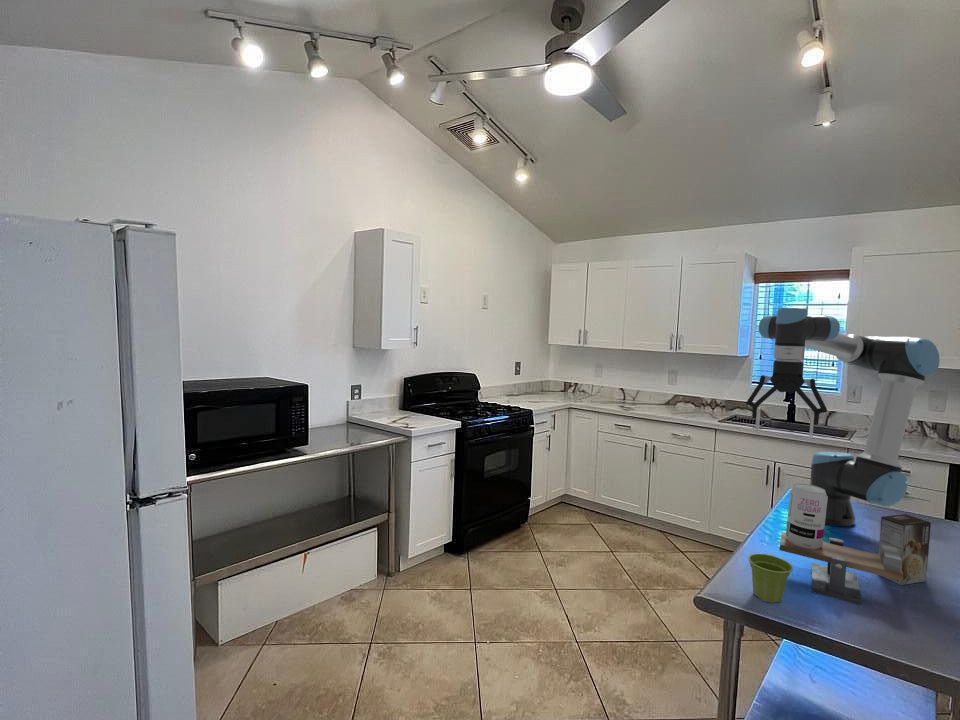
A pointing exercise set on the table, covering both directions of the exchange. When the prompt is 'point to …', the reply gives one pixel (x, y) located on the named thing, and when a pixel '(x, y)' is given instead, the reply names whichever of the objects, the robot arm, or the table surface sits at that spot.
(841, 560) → the stand
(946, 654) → the table surface
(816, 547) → the supplement can
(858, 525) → the table surface
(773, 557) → the plant pot
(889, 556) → the balance beam
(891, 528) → the coffee box
